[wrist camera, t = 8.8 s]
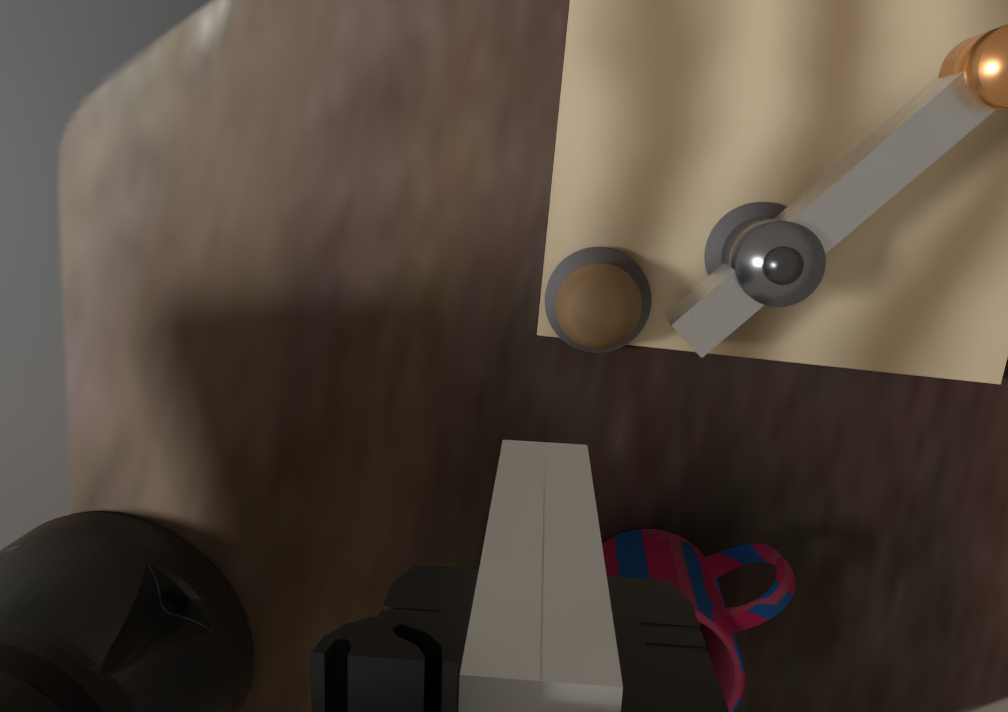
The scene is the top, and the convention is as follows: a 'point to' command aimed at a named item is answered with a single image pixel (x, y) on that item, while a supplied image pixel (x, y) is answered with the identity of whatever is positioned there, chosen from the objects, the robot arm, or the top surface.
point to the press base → (772, 180)
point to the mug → (705, 590)
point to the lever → (844, 196)
